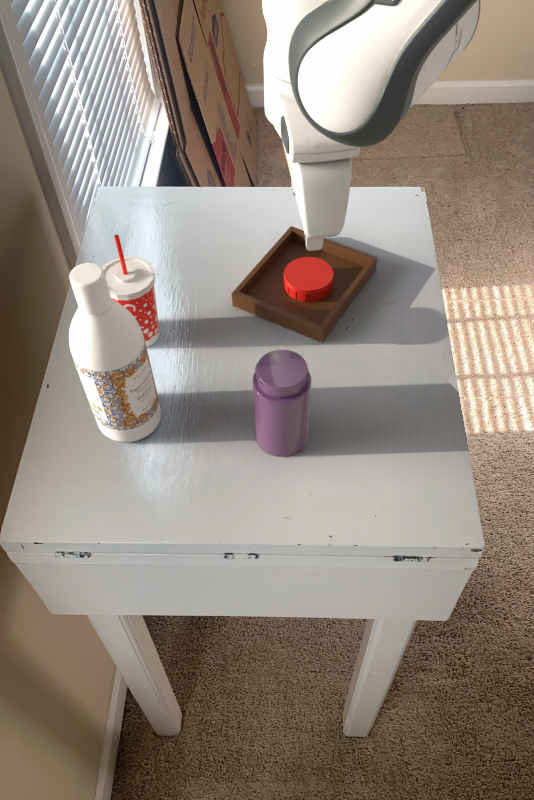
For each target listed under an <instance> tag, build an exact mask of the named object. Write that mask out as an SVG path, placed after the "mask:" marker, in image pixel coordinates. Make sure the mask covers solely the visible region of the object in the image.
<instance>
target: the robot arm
mask: <svg viewBox="0 0 534 800" xmlns="http://www.w3.org/2000/svg"><path fill="white" fill-rule="evenodd" d="M261 6H262V14H263V18H264V21H265V24H266V31H267V32H266V43H265V47H264V49H263V50H264V51H263V95H264V97H263V99H264V100H263V101H264V114H265V118H266V119H267V120H268V121H269V123H270V124H271V125H273V127H274V129H275V131H276V132H277V135H278V136H279V137H280V139H281V143H282V146H283V149H284V154H285V158H286V162H287V166H288V171H289V175H290V178H291V190H292V193H293V196H294V197H295V201H296V204H297V207H298V212H299V216H300V221H301V224H302V228H303V229H302V230H303V231H304V233H305V244H306V248H307V250H309V251H314V250H320V249H322V247H323V239H324V238H325V239H326V238H333V237H338V236H339V235H340V234H341V232H342V231H343V229H344V226H345V223H346V217H347V212H348V205H349V198H350V193H351V186H352V185H351V184H352V174H353V158H357V157H359V155H360V153H361V148H364V147H365V148H367V147H371V146H375V145H377V144H379V143H382V142H383V141H384V140H386V139H387V138H388V137H389V136H390V135H391V134H392V133H393V132H394V130H395V129H396V128H397V126H398V125H399V124H400V123H401V121H402V120H403V119H404V118H405V116H406V115H407V114H408V112H409V110H410V109H411V108H412V107H413V105H415V104H416V103H417V101H419V99H420V98H421V97H423V95H424V94H425V93H426V92H427V91H428V90H429V89H430V88H431V87H432V86H433V85H434V83H436V82H437V80H438V79H439V78H440V77H441V76H442V75H443V74H444V73H445V72H446V71H447V70H448V69H449V67H451V65H452V64H453V63H454V62H455V60H457V59H458V57H459V56H460V55H461V54H462V53H463V51H464V50H465V49H466V48H467V47H468V45H469V44H470V42H471V41H472V39H473V37H474V36H475V33H476V30H477V27H478V24H479V21H480V14H481V0H261Z"/></svg>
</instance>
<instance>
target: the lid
mask: <svg viewBox="0 0 534 800" xmlns="http://www.w3.org/2000/svg"><path fill="white" fill-rule="evenodd" d="M283 282H284V289H285V291H286V293H287V294H288V295H289V296H290V297H292V298H293V299H295V300H298V301H302V302H316V301H319V300H322V299H324V298H325V297H327V296H328V295H329V294H330V292H331V290H332V287H333V282H334V279H333V270H332V268H331V266H330V265H329V264H328V263H327V262H325V261H324V260H322V259H319V258H315V257H302V258H298V259H295V260H293V261H292V262H290V263H289V264H288V265H287V266H286V268H285V270H284V279H283Z"/></svg>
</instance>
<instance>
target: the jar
mask: <svg viewBox="0 0 534 800" xmlns="http://www.w3.org/2000/svg"><path fill="white" fill-rule="evenodd" d="M254 370H255V371H254V372H253V375H252V393H253V394H252V395H253V410H254V411H253V412H254V430H255V432H254V433H255V440H256V443H257V445H258V447H259V448H260V449H261V450H262V451H263V452H265V453H267V454H268V455H270V456H274V457H280V458H281V457H283V458H284V457H290V456H293V455H295V454H298V453H300V451H301V450H303V449H304V448H305V446H306V445H307V443H308V440H309V432H310V431H309V430H310V411H311V397H312V396H311V395H312V375H311V372H310V371H309V367H308V363H307V362H306V360H305V358H304V357H303V356H302V355H300V354H299V353H297V352H295V351H293V350H290V349H274V350H271V351H268V352H267V353H265V354H264V355H262V357H260V359H259V360H258V361H257V363H256V365H255V368H254Z"/></svg>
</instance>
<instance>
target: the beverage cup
mask: <svg viewBox="0 0 534 800" xmlns="http://www.w3.org/2000/svg"><path fill="white" fill-rule="evenodd" d="M120 239H121V238H120V235H119V234H114V241H115V246H116V249H117V253H118V254H117V255H118V257H117V258H113V259H111V260H110V261H108V262H106V263H104V265H102V266H101V268H102V269H103V271H104V273H105V277H106V281H107V284H108V288H109V292H110V296H111V299H113V300H114V301H116V302H118V303H119V304H121V305H122V306H123V307H125V308H126V309H127V310H128V311H129V312H130V313H131V314H132V315H133V316H134V317H135V319H136V320H137V322H138V324H139V325H140V328H141V330H142V332H143V335H144V339H145V343H146V347H147V348H149V347H151V346H153V345H154V344H155V343H157V341H158V340H159V338H160V333H161V331H160V323H159V314H158V307H157V299H156V298H157V297H156V291H155V282H156V276H155V275H156V273H155V270H154V266H153V265H152V264H151V263H150V262H149V261H148V260H146V259H144V258H141V257H138V256H134V255H133V256H128V255H127V256H126V255H125V256H124V252H123V248H122V243H121V240H120Z"/></svg>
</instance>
